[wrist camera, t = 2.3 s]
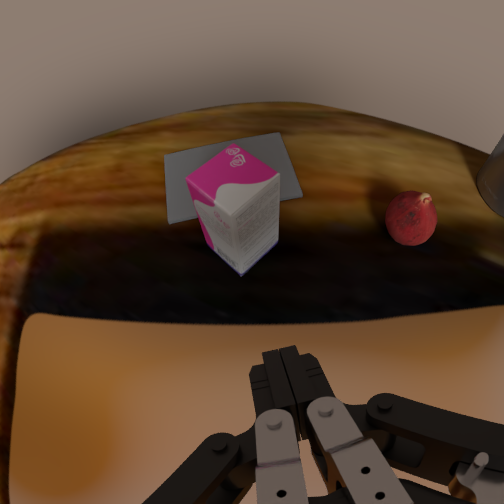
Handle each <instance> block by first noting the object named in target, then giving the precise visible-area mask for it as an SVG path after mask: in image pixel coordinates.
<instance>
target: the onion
mask: <svg viewBox="0 0 504 504" xmlns="http://www.w3.org/2000/svg"><path fill="white" fill-rule="evenodd" d="M431 200H432V199H431V196H430V195H429V193H424V192H423V193H420V192H416V191H406V192H402V193H400V194H399V195H397V196H396V197H395V198H393V199H392V201H391V202H390V204H389V206H388V207H387V210H386V214H385V223H386V227H387V229H388V232H389V234H390V236H391V237H392V238H393V239H394V240H395V241H396V242H398V243H400V244H403V245H412V246H415V245H418V244H421V243H423V242H425V241H426V240H427V239H428V238H429V237H430V236H431V235H432V234H433V232H434V230H435V227H436V224H437V214H436V209H435V206H434V205H433V203H432V201H431Z"/></svg>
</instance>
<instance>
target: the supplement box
mask: <svg viewBox="0 0 504 504" xmlns="http://www.w3.org/2000/svg"><path fill="white" fill-rule="evenodd" d="M185 179H186V183H187V186H188V189H189V192H190V195H191V198H192V201H193V204H194V207H195V209H196V212H197V215H198V218H199V221H200V224H201V227H202V230H203V233H204V236H205V239H206V242H207V245H208V246H209V247H210V248H211V249H212V250H213V251H214V252H215V253H216V254H217V255H218V256H219V257H221V258H222V259H223V260H224V261H225V262H226V263H227V264H228V265H229V266H230V267H231V268H233V269H234V270H235V271H236V272H237V273H238V274H239V275H240V276H243V275H244V274H245V273H246V272H247V271H248V270H249V269H250V268H251V267H252V266H253V265H255V264H256V263H257V262H258V261H259V260H260V259H261V258H262V257H263V256H264V255H265V254H266V253H268V252H269V251H270V250H271V249H272V248H273V247H274V246H275V245H276V244H277V243H278V232H279V231H278V230H279V202H280V173H278V172H277V171H275V170H274V169H272V168H271V167H269V166H268V165H266V164H265V163H263V162H262V161H260V160H259V159H257V158H256V157H254V156H253V155H251V154H250V153H248V152H247V151H245V150H244V149H242V148H241V147H239V146H238V145H236V144H234V143H233V144H231V145H230V146H228V147H227V148H225V149H224V150H223V151H221V152H220V153H219V154H218V155H216V156H215V157H213V158H212V159H211V160H209V161H208V162H206V163H205V164H204V165H202V166H201V167H199V168H198V169H197V170H195V171H194V172H192V173H191V174H190V175H188V176H187V177H186V178H185Z"/></svg>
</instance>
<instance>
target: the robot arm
mask: <svg viewBox="0 0 504 504" xmlns="http://www.w3.org/2000/svg"><path fill="white" fill-rule="evenodd" d="M477 186H478V189H479V191H480V194H481V196H482V197H483V199H484V200H485V202H486V203H487V204H488V205H489V207H490V208H491V209H493V210H494V211H495V212H496V213H497V214H499V215H501V216H503V217H504V134H503V136H502V138H501V139H500V141H499V142H498V144H497V146H496V147H495V149H494V150H493V152H492V153H491V155H490V156H489V158H488V159H487V161H486V162H485V164H484V165H483V167H482V168H481V169H480V171H479V172H478V175H477ZM279 353H280V354H279ZM262 356H263V361H264V364H260V365H255V366H252V368H251V371H250V373H249V377H250V383H251V389H252V395H253V401H254V406H255V412H256V421H255V423H254V425H253V426H252V427H251V428H250V429H249V430H247V431H246V432H244V433H242V434H240V435H237V436H233V435H232V434H229V433H217V434H213V435H211V436H209V437H208V438H206V439H205V440H204V441H203V442H202V443H201V444H200V445H199V446H198V448H197V449H196V450H195V451H194V452H193V453H192V454H191V455H190V456H189V457H188V458H187V459H186V460H185V461H184V462H183V463H182V465H180V467H179V468H178V469H177V470H176V471H175V472H174V473H173V474H172V475H171V476H170V477H169V478H168V479H167V480H166V481H165V482H164V483H163V484H162V485H161V486H160V487H159V488H158V489H157V490H156V491H155V492H154V493H153V494H152V495H151V496H149V498H147V499H146V500H145V501H144V502H143V503H142V504H239V503H240V501H241V500H242V499H243V497H244V496H245V495H246V494H247V492H248V491H249V489H250V488H251V487H252V484H253V483H254V482H256V490H257V504H504V425H503V424H498V423H494V422H490V421H486V420H482V419H477V418H473V417H470V416H466V415H461V414H458V413H455V412H451V411H447V410H443V409H440V408H437V407H433V406H429V405H426V404H423V403H419V402H416V401H413V400H410V399H407V398H404V397H400V396H397V395H394V394H390V393H381V394H377V395H375V396H373V397H372V398H371V399H370V400H369V401H368V403H367V404H363V405H348V404H345V403H342V402H341V401H340V400H339V399H337V398H336V397H335V395H334V393H333V391H332V389H331V387H330V385H329V383H328V381H327V379H326V376H325V374H324V372H323V370H322V368H321V366H320V364H319V362H318V360H317V358H315V357H314V356H313V355H311V354H310V353H307V354H304V355H299V353H298V350H297V348H296V346H295V345H293V346H289V347H285V348H280V349H279V351H278V349H276V350H272V351H267V352H263V353H262ZM300 434H301V437H302V440H306V439H309V442H310V446H311V453H312V456H313V458H314V461H315V463H316V465H317V467H318V469H319V472H320V474H321V476H322V479H323V481H324V483H325V485H326V488H327V491H328V495H326V496H321V497H307V492H306V487H305V480H304V475H303V469H302V464H301V459H300V455H299V454H300V451H299V444H298V441H301V439H300ZM391 467H393V468H395V469H398V470H401V471H404V472H406V473H409V474H412V475H415V476H418V477H420V478H423V479H427V480H429V481H433V482H436V483H439V484H442V485H445V486H448V489H449V493H450V494H451V495H448V494H445V493H442V492H439V491H436V490H433V489H431V488H428V487H426V486H423V485H420V484H418V483H415V482H413V481H410V480H406V479H400V478H397V477H396V475H395V473H394V472H393V470H392V469H391Z"/></svg>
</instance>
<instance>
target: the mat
mask: <svg viewBox="0 0 504 504" xmlns="http://www.w3.org/2000/svg"><path fill="white" fill-rule="evenodd" d="M233 143H234V144H236V145H238V146H239V147H241V148H242V149H244V150H245V151H247V152H248V153H250V154H251V155H253V156H254V157H256V158H257V159H259V160H260V161H262V162H263V163H265V164H266V165H268V166H269V167H271V168H272V169H274V170H275V171H277V172H278V173H280V201H283V200H288V199H294V198H299V197H302V196H303V194H302V191H301V188H300V185H299V183H298V180H297V177H296V174H295V172H294V169H293V166H292V164H291V161H290V158H289V156H288V153H287V151H286V148H285V145H284V143H283V140H282V138H281V135H280V133H279V132H278V133H271V134H265V135H259V136H253V137H247V138H242V139H237V140H231V141H226V142H221V143H216V144H211V145H207V146H202V147H197V148H193V149H188V150H184V151H180V152H175V153H171V154H167V155H164V161H165V182H166V199H167V214H168V223H169V224H172V223H176V222H181V221H185V220H190V219H194V218H198V215H197V212H196V209H195V207H194V204H193V201H192V198H191V195H190V192H189V189H188V186H187V183H186V179H185V178H186V177H187V176H188V175H190V174H191V173H192V172H194V171H195V170H197V169H198V168H199V167H201V166H202V165H204V164H205V163H206V162H208V161H209V160H211V159H212V158H213V157H215V156H216V155H218V154H219V153H220V152H221V151H223V150H224V149H225V148H227V147H228V146H230V145H231V144H233Z"/></svg>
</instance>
